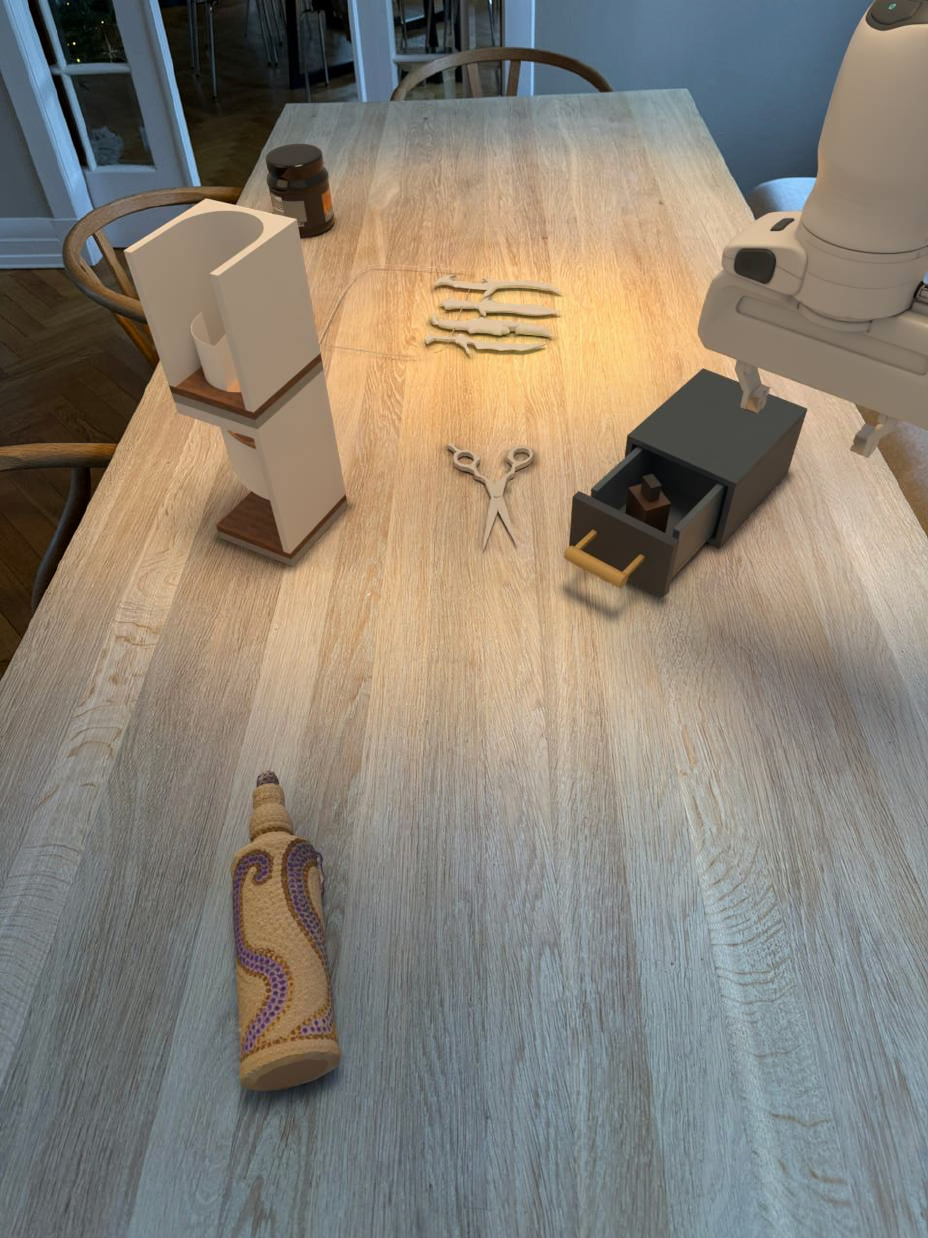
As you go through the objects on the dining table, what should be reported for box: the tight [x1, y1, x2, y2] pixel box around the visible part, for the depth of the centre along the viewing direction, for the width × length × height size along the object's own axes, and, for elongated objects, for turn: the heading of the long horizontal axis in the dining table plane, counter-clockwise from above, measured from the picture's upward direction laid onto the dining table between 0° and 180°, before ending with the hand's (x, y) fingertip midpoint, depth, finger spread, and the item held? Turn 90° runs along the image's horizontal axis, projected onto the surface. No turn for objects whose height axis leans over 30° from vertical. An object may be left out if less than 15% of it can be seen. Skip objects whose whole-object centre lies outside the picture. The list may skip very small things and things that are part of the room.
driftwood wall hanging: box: [318, 263, 565, 357], centre depth 134 cm, size 26×35×1 cm
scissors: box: [447, 441, 534, 551], centre depth 107 cm, size 11×1×20 cm
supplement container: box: [265, 143, 335, 238], centre depth 152 cm, size 10×10×12 cm
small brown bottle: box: [625, 474, 671, 533], centre depth 95 cm, size 4×3×8 cm
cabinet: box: [624, 368, 808, 549], centre depth 103 cm, size 17×14×10 cm
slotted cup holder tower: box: [123, 198, 349, 567], centre depth 92 cm, size 11×11×35 cm
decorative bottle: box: [230, 770, 342, 1093], centre depth 71 cm, size 26×8×7 cm, turn 12°
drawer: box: [563, 446, 728, 599], centre depth 96 cm, size 20×12×8 cm, turn 140°
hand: (805, 428), depth 71 cm, fingers open, 8 cm apart
